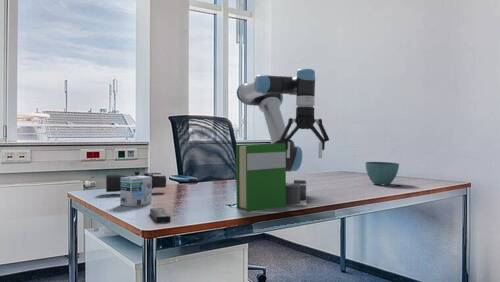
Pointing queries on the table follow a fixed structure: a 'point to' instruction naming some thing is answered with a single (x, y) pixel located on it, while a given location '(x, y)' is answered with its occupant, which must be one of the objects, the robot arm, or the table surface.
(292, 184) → the grey cylinder
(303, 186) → the lens barrel
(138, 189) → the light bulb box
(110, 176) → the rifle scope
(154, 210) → the multiport hub
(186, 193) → the table surface
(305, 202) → the mat
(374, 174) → the teal bowl
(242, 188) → the hardback book
